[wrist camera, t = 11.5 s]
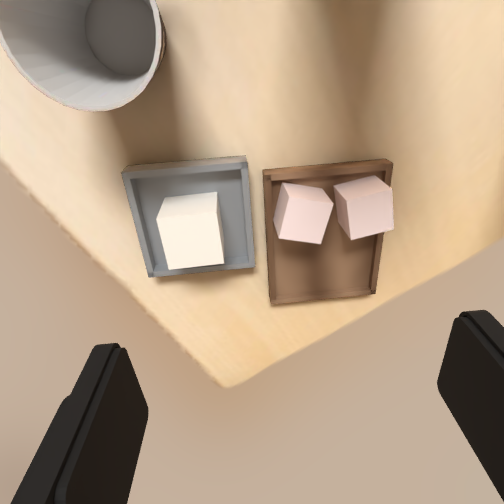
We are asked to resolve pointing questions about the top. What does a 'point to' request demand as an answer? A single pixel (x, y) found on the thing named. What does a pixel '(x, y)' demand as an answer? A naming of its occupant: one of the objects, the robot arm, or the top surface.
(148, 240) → the slate dish
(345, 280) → the walnut tray
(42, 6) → the coffee mug
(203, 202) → the cream white cube
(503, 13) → the top surface
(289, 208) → the small marshmallow
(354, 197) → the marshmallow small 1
